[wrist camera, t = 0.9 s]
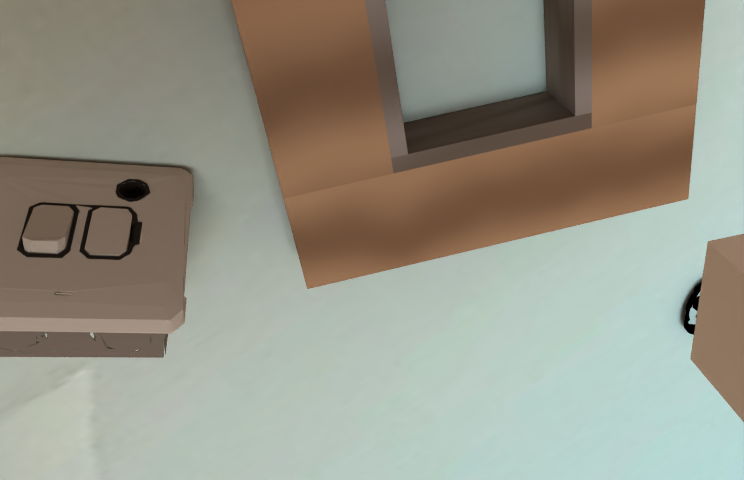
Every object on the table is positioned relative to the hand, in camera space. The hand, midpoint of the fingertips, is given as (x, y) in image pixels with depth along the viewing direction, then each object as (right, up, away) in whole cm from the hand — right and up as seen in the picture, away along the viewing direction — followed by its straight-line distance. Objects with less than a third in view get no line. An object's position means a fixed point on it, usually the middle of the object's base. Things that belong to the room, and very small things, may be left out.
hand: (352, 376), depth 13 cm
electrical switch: (-13, +4, +23) cm, 27 cm away
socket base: (+5, +12, +21) cm, 25 cm away
